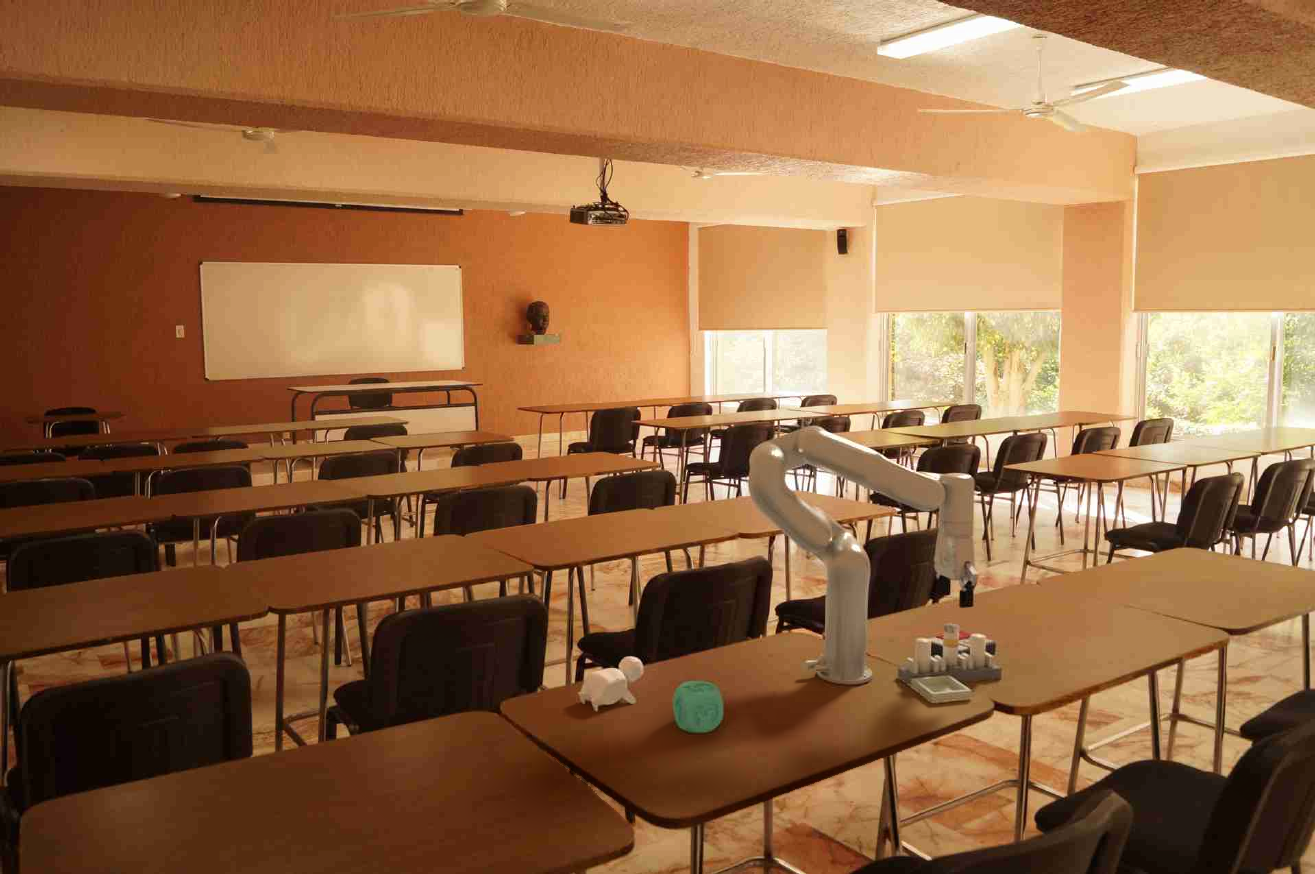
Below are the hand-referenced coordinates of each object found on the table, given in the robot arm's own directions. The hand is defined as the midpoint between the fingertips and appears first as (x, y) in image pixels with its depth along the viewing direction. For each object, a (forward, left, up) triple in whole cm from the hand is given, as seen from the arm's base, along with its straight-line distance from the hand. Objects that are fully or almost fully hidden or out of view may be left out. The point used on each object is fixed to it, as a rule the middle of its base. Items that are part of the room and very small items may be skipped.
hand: (954, 601), depth 223 cm
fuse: (0, 0, -16) cm, 16 cm away
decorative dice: (-64, -12, -19) cm, 68 cm away
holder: (0, 0, -18) cm, 18 cm away
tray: (-7, -8, -18) cm, 21 cm away
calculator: (+11, +15, -19) cm, 26 cm away
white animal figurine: (-79, +5, -19) cm, 81 cm away
